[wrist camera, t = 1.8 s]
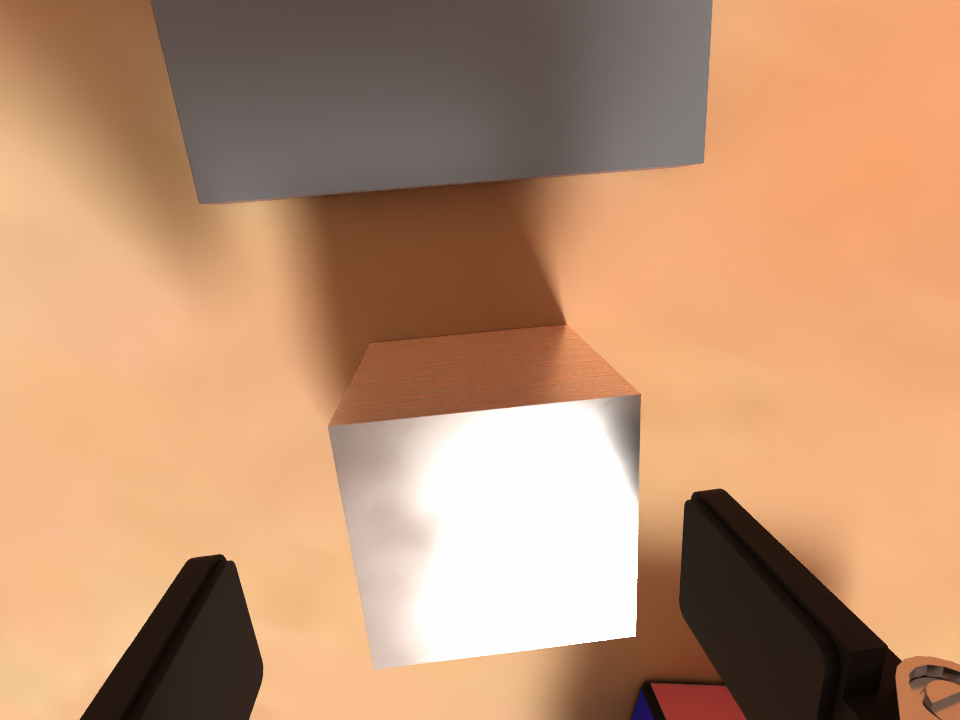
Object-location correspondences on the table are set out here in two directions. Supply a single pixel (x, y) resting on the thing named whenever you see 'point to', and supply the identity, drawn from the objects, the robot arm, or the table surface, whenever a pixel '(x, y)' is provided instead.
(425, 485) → the pale block
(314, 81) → the post base
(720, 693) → the puzzle cube
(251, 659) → the robot arm
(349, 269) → the table surface
